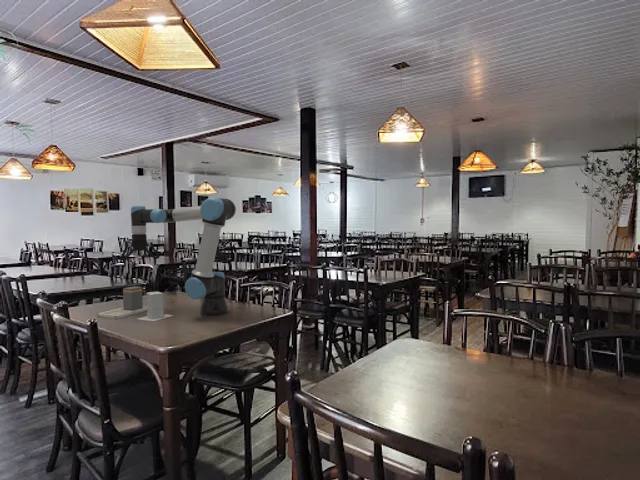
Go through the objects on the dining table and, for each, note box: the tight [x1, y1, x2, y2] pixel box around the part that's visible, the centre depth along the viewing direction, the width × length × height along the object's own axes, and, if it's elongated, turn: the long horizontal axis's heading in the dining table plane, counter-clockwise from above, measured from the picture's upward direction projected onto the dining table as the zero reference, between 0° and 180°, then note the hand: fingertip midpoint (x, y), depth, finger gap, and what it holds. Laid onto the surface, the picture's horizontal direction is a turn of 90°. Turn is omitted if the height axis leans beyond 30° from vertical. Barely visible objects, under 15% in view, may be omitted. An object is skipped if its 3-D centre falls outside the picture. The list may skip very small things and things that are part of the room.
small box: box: [146, 291, 164, 319], centre depth 223 cm, size 8×6×13 cm
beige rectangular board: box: [96, 305, 147, 320], centre depth 234 cm, size 14×24×2 cm, turn 157°
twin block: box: [122, 285, 144, 311], centre depth 239 cm, size 6×8×13 cm
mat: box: [136, 313, 174, 322], centre depth 224 cm, size 12×14×1 cm
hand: (140, 271), depth 234 cm, fingers open, 13 cm apart
